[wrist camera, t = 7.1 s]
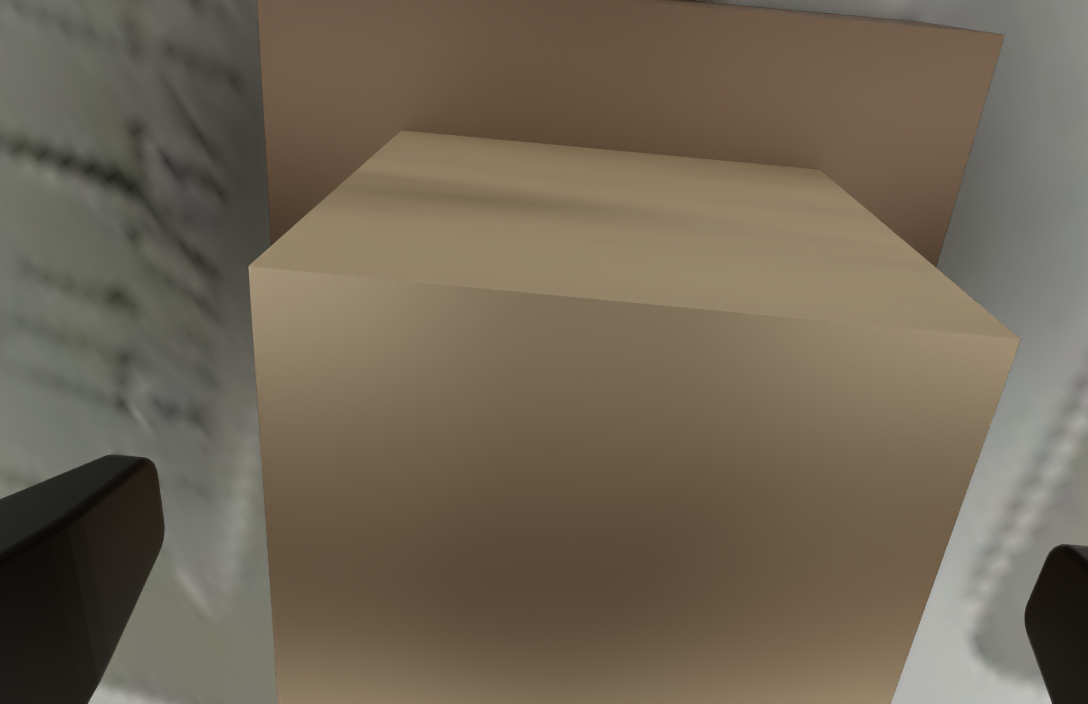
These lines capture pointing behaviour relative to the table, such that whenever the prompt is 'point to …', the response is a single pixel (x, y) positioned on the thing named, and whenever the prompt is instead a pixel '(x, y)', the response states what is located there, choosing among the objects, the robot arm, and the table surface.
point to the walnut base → (628, 91)
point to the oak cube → (606, 431)
